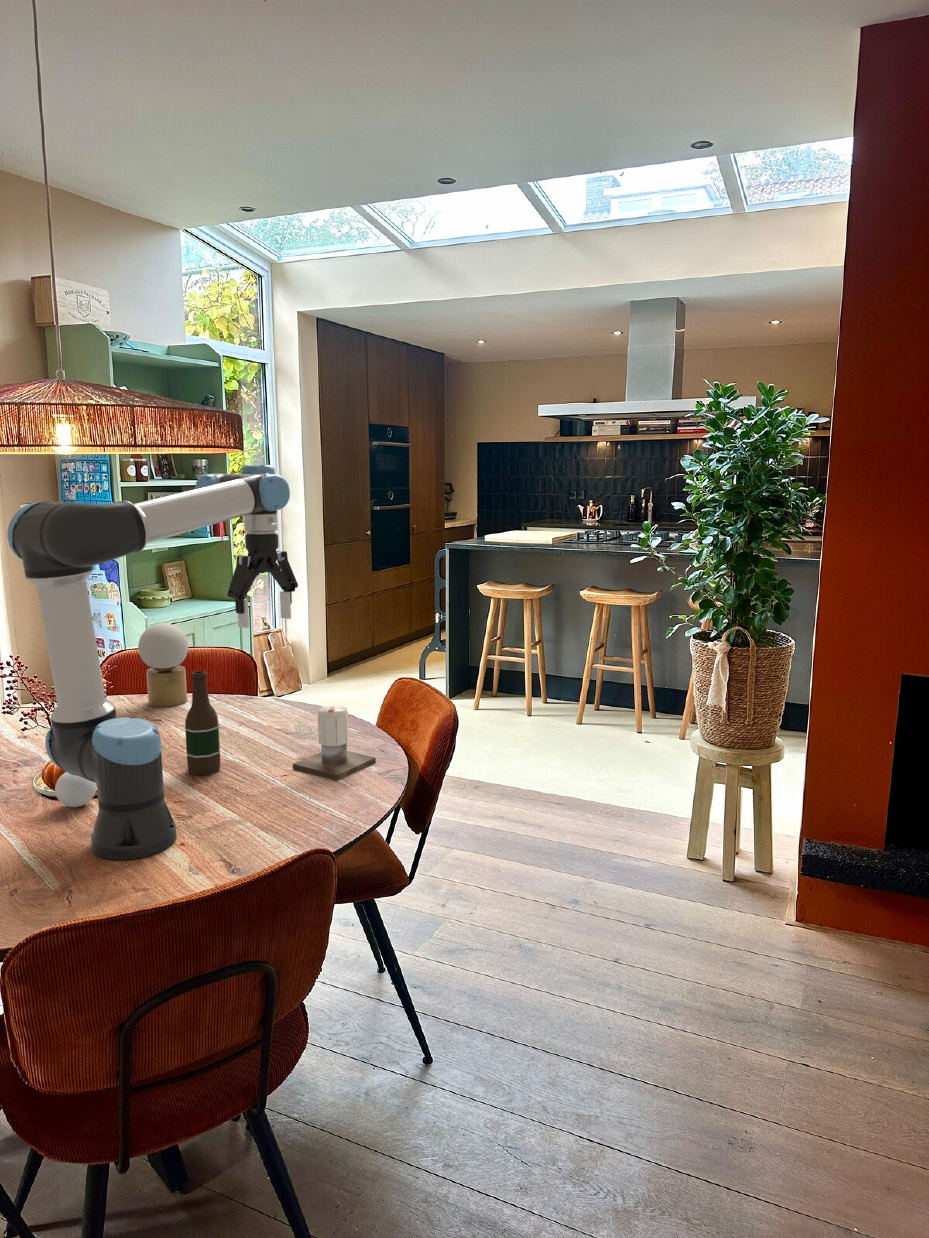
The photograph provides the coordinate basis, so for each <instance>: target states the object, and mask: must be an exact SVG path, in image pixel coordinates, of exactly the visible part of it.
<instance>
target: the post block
mask: <svg viewBox="0 0 929 1238" xmlns="http://www.w3.org/2000/svg"><path fill="white" fill-rule="evenodd" d="M320 745H321V744H320ZM347 745H348V742H347V743H346V744H344V745H340V746H324V745H321V751H320V752H317V753H315V754H313V755H311V756H308V757H306V758H303V759H301V760H298V761H296V762H293V763H292V769H293V770H298V771H302V772H305V773H309V774H313V775H317V776H321V777H325V778H329V779H333V780H336V781H338V780H341V779H343V778H345V777H347V776H349V775H351V774H353V773H355V772H358V771H359V770H362V769H365V768H366V767H368V766H371V765H373V764H375V763H376V762H377V761H376V760H377V757H375V756H371V755H366V754H363V753H362V754H361V753H359V752H358V753H357V752H353V751H349V750H348V746H347ZM342 777H343V778H342Z"/></svg>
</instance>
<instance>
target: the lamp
mask: <svg viewBox="0 0 929 1238" xmlns="http://www.w3.org/2000/svg"><path fill="white" fill-rule="evenodd" d="M137 649H138V653H139V656H140V658H141V660H142V662H143V663H144V664H145V665H146V666H148V667H150V668H147V669H146V671H145V673H146V684H147V685H146V686H147V687H146V688H147V699H148V700H147V701H148V705H149V706H151V707H155V708H171V707H176V706H181V705H183V704H186V703H187V702H188V693H187V692H188V690H187V674H186V673H187V672H186V667H185V666H183V665H180V664H182V663H183V662H184V660H185V659H186V657H187V655H188V652H189V641H188V637H187V636H186V634H185V633H184V631H183V630H182V629H181V628H179V626H176V625H174V624H172V623H167V622H165V623H164V622H161V623H156V624H153V625H151V626H149V627H148V628H146V630H144V631H143V632H142V634H141V636H140V638H139V640H138V647H137Z"/></svg>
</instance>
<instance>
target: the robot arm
mask: <svg viewBox="0 0 929 1238" xmlns="http://www.w3.org/2000/svg"><path fill="white" fill-rule="evenodd" d="M290 491H291V490H290V486H289V483H288V481H287V480H286V479H285V477H283V476H281V475H279V474H276V470H275V468H274V466H273V465H271V464H244V465H242V467H241V473H207V474H203V475H202V474H201V476H199V477H198V478H197V480H196V482H195V485H194V489H191V490H187V491H182V492H178V493H174V494H170V495H165V496H162V497H161V496H160V497H157V498H154V499H153V498H151V499H149V500H145V501H141V502H137V503H133V502H131V501H129V500H120V501H115V502H108V503H87V502H86V503H84V502H65V501H55V500H49V501H47V500H43V501H38V502H32V503H29V504H26V505H25V506H23V507H21V508H20V509H18V510H17V511H16V512H15V513H14V515H13V516H12V517H11V520H10V521H9V524H8V526H7V527H8V528H7V541H8V545H9V547H10V549H11V552H13V553H14V554H15V555H16V556H17V557H18V558H19V559H20V560H22V565H23V570H24V576H25V579H26V580H27V581H29V582H31V583H32V584H34V585H35V587H36V591H37V597H38V602H39V609H40V613H41V619H42V625H43V630H44V637H45V641H46V642H45V643H46V648H47V653H48V654H47V655H48V659H49V660H48V661H49V666H50V671H51V676H52V677H51V678H52V681H53V686H54V694H55V699H56V704H57V705H56V708H55V709H54V710H53V711H52V712H51V714H50V721H51V722H50V723H51V725H50V728H49V730H48V731H47V732H46V736H45V742H44V743H45V744H44V745H45V751H46V754H47V756H48V758H49V759H50V760H51V762H52V763H53V764H54V765H55V766H56V767H58V768H59V769H61V770H62V771H63V772H64V773H65V772H67V773H70V774H72V775H76V776H79V777H82V778H84V779H87V780H89V781H92V782H94V783H96V792H97V801H98V813H97V816H96V819H95V823H94V826H93V827H94V828H93V833H92V834H91V839H90V840H91V841H90V842H91V851H92V853H93V854H94V855H95V856H96V857H98V858H101V859H104V860H112V861H127V860H128V861H129V860H135V859H141V858H145V857H149V856H152V855H153V856H154V855H155V854H157V853H161V852H162V851H164V850H166V849H168V848H169V847H171V846H172V845H173V844H174V843H175V842H176V840H177V837H178V835H177V826H176V822H175V821H174V818H173V816H172V814H171V812H170V809H169V807H168V805H167V803H166V800H165V791H164V790H165V789H164V776H163V775H164V774H163V759H162V750H163V745H162V740H161V735H160V731H159V729H158V727H157V726H156V725H155V724H154V723H153V722H152V721H149V720H146V719H143V718H140V717H139V718H138V717H133V718H131V717H118V716H117V711H116V706H115V703H114V702H112V701H111V700H109V699H107V698H106V694H105V688H104V684H103V683H104V682H103V678H102V676H103V675H102V671H101V663H100V659H99V651H98V645H97V640H96V633H95V627H94V621H93V613H92V607H91V602H90V597H89V589H88V585H87V584H88V583H87V579H88V578H90V576H91V574H92V573H93V572H94V567H93V566H97V565H101V564H103V563H106V562H107V563H108V562H109V561H113V560H115V559H119V558H123V557H127V556H128V555H132V554H136V553H138V552H139V553H140V552H142V551H143V550H144V549H145V548H146V545H147V544H150V543H153V542H156V541H160V540H164V539H166V538H167V539H168V538H170V537H174V536H177V535H181V534H185V533H187V532H191V531H195V530H199V529H201V528H205V527H208V526H209V527H210V526H212V525H215V524H218V523H222V522H223V523H224V522H227V521H229V520H233V519H236V518H240V517H243V525H244V531H245V532H246V534H245V535H244V542H245V543H244V545H245V546H244V547H245V549H246V550H247V554H246V555H237V556H236V561H235V563H236V565H235V568H234V572H233V574H232V578H231V580H230V583H229V584H230V585H229V587H228V591H227V593H226V595H227V597H228V598H231V599H233V600H234V603H235V604H234V607H235V613H236V614H237V625H238V626H237V627H238V628H243V629H248V628H250V618H249V617H250V616H249V615H250V613H249V599H247V598H246V596H247V595H248V593H249V591H250V589H251V588H252V587H253V586H252V585H253V584H254V583H255V580H256V578H257V577H258V576H259V575H260V574H265V573H269V574H270V575H271V576H272V578H273V579H274V580H275V582H276V583H277V585H278V586H279V588H281V591H279V605H280V618H281V619H283V620H284V619H285V620H291V619H292V606H291V605H292V603H293V600H292V599H293V598H292V597H293V595H292V592H295V591H296V589H297V588H298V587H299V584H298V583H299V582H298V581H297V579H296V576H295V574H294V571H293V569H292V567H291V565H290V562H289V558H288V557H289V556H288V552H287V551H285V550H277V549H279V547H280V546H279V545H280V544H279V534H278V533H277V531H278V530H279V528H278V527H279V526H278V511H280V510H282V509H284V508H285V507H286V506H287V504H288V503H289V500H290V498H291V492H290Z"/></svg>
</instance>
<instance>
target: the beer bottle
mask: <svg viewBox="0 0 929 1238" xmlns="http://www.w3.org/2000/svg"><path fill="white" fill-rule="evenodd" d="M207 677H208V673H207V671H204V670H195V671H193V672H191V675H190V678H191V680H192V682H191V683H192V684H191V686H192V687H191V688H192V689H191V692H192V693H191V694H192V695H191V697H192V698H191V707H190V709H188V712H187V715H186V718H185V724H184V726H185V727H184V730H185V731H184V732H185V743H186V744H185V745H186V746H185V747H186V763H187V764H186V765H187V769H188V770H187V773H188V774H190V775H192V776H193V775H194V776H210V775H213V774H216V773H218V772H220V768H221V747H220V727H219V717H218V716H219V715H218V714H217V712H216V710H215V708H214V707H213V706H212V705H211V703H210V699H209V691H208V683H207Z"/></svg>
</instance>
